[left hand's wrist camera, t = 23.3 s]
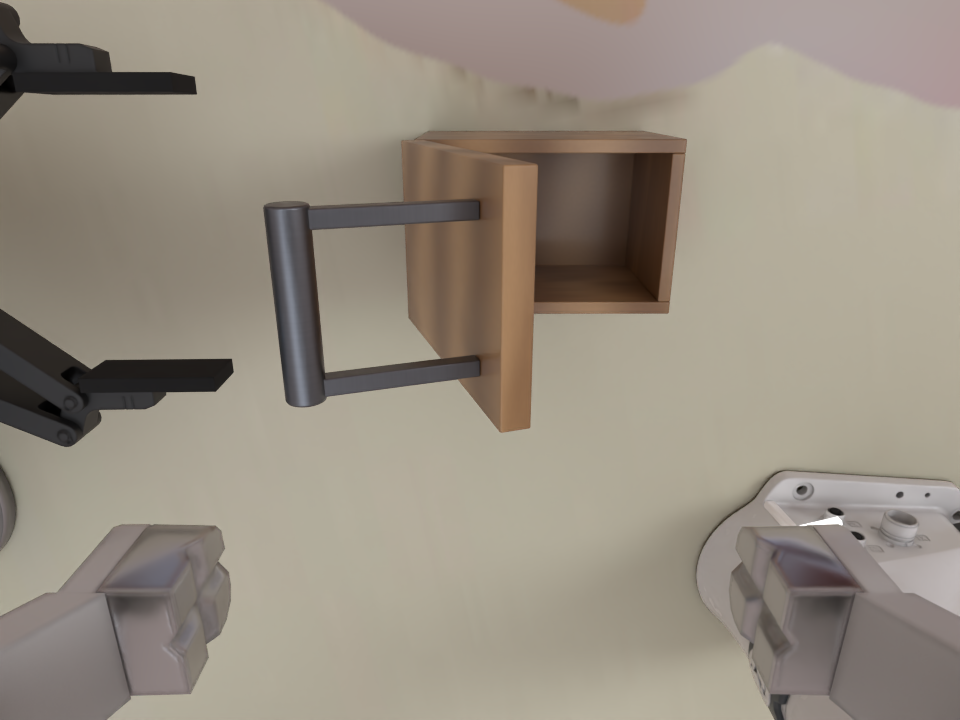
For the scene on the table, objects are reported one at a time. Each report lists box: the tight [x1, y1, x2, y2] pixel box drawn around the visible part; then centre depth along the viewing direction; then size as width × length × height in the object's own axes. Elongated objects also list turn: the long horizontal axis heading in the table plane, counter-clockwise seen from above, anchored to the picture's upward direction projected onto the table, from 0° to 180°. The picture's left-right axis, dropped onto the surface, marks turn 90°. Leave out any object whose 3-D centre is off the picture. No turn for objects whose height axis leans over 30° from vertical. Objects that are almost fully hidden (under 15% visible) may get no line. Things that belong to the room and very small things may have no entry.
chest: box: [415, 131, 687, 314], centre depth 42 cm, size 14×10×10 cm, turn 90°
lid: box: [263, 140, 538, 433], centre depth 29 cm, size 15×10×9 cm
